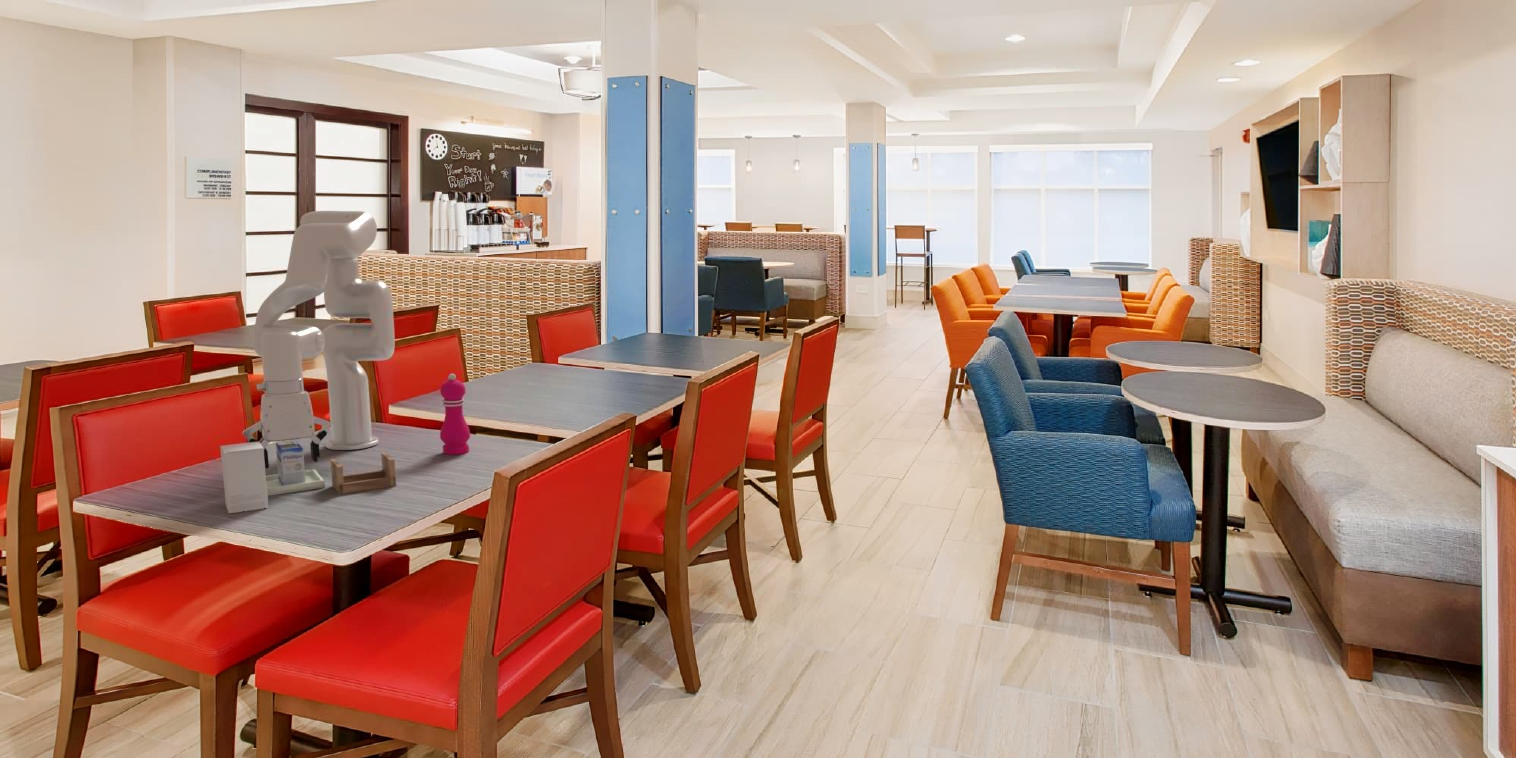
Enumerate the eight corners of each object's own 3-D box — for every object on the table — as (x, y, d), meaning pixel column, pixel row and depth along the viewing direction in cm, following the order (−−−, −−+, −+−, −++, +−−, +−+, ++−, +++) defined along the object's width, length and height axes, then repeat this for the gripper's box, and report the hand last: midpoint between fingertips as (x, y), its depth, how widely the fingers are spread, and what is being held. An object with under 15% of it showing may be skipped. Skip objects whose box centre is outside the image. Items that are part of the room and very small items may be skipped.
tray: (260, 483, 208) (259, 476, 208) (315, 475, 214) (314, 469, 214) (267, 495, 199) (267, 488, 198) (324, 487, 205) (324, 480, 205)
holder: (332, 485, 206) (330, 459, 205) (387, 477, 213) (385, 452, 212) (339, 494, 200) (337, 466, 199) (396, 485, 207) (394, 459, 206)
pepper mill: (461, 456, 232) (457, 376, 229) (435, 454, 234) (430, 375, 230) (476, 449, 239) (472, 372, 236) (450, 447, 241) (446, 370, 237)
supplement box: (269, 508, 190) (264, 447, 188) (227, 514, 186) (221, 452, 184) (265, 499, 196) (260, 440, 194) (225, 504, 193) (219, 445, 190)
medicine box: (278, 480, 208) (274, 442, 207) (300, 477, 211) (297, 439, 209) (283, 488, 202) (280, 449, 200) (306, 485, 204) (303, 446, 203)
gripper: (241, 394, 195) (248, 473, 198) (330, 385, 204) (336, 462, 207) (236, 388, 201) (243, 466, 204) (324, 380, 211) (329, 454, 213)
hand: (290, 463), depth 206 cm, fingers open, 9 cm apart
